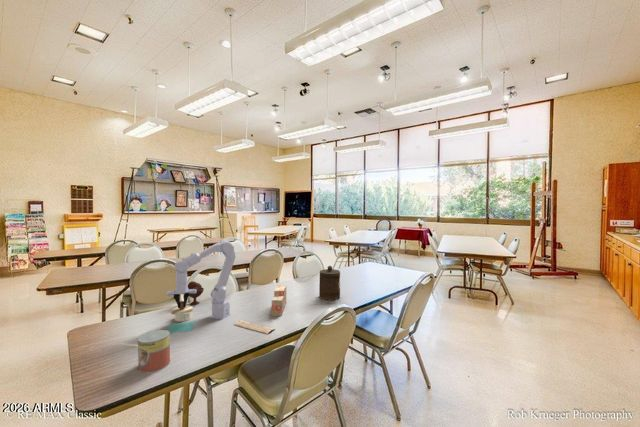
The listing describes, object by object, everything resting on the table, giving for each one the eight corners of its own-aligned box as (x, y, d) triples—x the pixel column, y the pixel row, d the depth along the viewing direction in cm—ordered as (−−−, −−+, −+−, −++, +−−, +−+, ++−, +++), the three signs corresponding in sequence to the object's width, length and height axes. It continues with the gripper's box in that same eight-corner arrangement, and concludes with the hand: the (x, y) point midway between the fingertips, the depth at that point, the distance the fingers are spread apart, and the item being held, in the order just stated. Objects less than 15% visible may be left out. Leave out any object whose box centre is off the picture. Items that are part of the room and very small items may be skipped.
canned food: (131, 369, 113) (130, 339, 112) (156, 355, 123) (156, 328, 123) (152, 375, 109) (151, 344, 108) (176, 360, 119) (176, 332, 119)
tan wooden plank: (233, 326, 154) (233, 323, 154) (242, 321, 161) (242, 318, 161) (267, 335, 143) (267, 332, 143) (276, 330, 149) (276, 327, 149)
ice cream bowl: (197, 307, 182) (197, 283, 182) (182, 305, 184) (181, 282, 184) (207, 301, 192) (206, 279, 192) (192, 300, 195) (192, 278, 194)
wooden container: (344, 297, 201) (344, 266, 200) (327, 301, 193) (327, 269, 192) (331, 292, 213) (331, 263, 213) (315, 295, 205) (315, 265, 204)
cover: (197, 308, 159) (197, 299, 159) (183, 315, 148) (183, 305, 148) (180, 306, 162) (180, 298, 162) (165, 313, 151) (165, 304, 151)
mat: (194, 322, 158) (194, 321, 158) (191, 331, 146) (191, 330, 146) (170, 325, 154) (170, 324, 154) (165, 334, 143) (165, 333, 143)
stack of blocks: (281, 315, 167) (281, 295, 167) (271, 315, 168) (271, 295, 167) (286, 303, 189) (286, 285, 189) (277, 303, 189) (277, 285, 189)
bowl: (195, 316, 166) (195, 309, 166) (185, 323, 157) (185, 315, 157) (182, 315, 168) (182, 308, 168) (171, 321, 159) (171, 313, 159)
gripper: (196, 279, 161) (197, 303, 161) (168, 281, 156) (168, 306, 157) (195, 283, 154) (195, 307, 154) (165, 285, 150) (165, 310, 150)
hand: (182, 307), depth 155 cm, fingers closed on cover, 2 cm apart
